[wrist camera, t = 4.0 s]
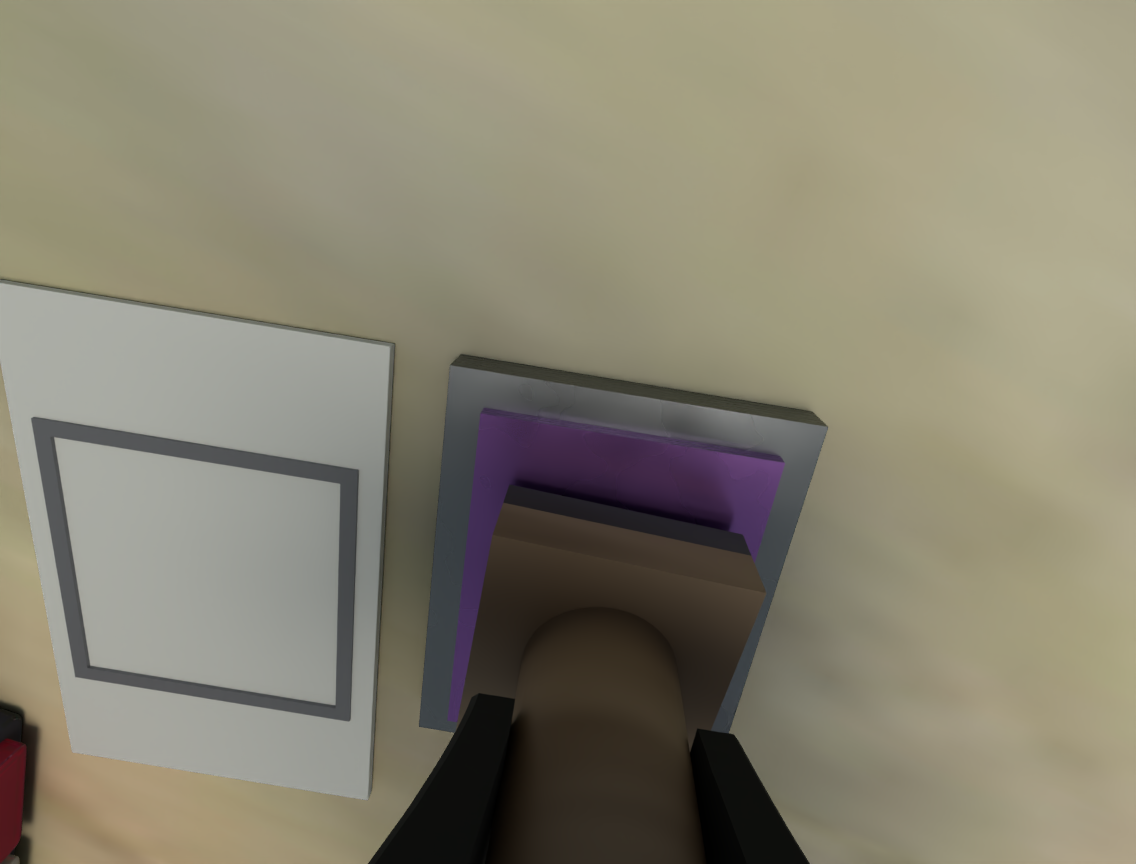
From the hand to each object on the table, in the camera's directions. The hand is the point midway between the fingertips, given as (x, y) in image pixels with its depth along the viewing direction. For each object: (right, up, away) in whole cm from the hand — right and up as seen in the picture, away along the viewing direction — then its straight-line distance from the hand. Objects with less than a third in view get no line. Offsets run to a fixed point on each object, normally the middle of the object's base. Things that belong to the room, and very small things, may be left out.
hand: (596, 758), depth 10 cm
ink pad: (0, +2, +5) cm, 6 cm away
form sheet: (-10, +2, +6) cm, 12 cm away
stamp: (0, +2, +4) cm, 4 cm away
